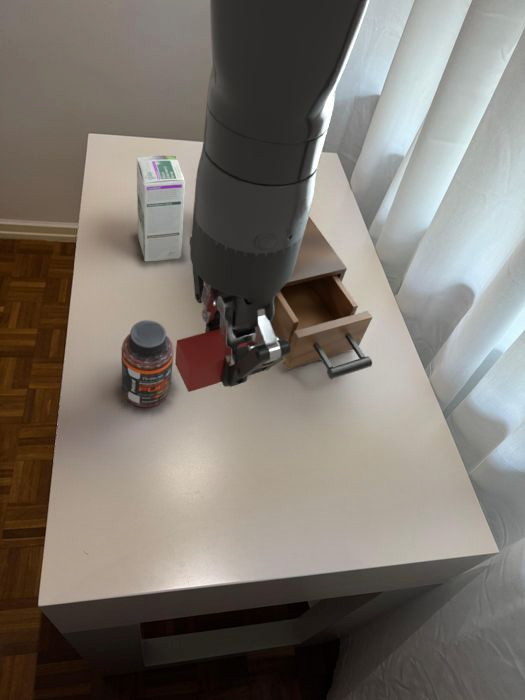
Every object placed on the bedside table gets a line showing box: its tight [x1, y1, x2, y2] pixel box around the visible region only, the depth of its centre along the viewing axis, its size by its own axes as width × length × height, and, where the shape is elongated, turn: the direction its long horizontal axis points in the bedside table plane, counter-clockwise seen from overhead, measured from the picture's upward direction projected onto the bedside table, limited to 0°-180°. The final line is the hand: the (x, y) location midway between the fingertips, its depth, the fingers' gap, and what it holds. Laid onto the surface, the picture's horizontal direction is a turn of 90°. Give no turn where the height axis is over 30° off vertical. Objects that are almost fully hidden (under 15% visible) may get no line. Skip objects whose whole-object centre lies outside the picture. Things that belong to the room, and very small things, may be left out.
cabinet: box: [283, 216, 348, 287], centre depth 84 cm, size 15×13×9 cm
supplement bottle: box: [120, 319, 174, 408], centre depth 68 cm, size 6×6×11 cm
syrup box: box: [136, 155, 186, 262], centre depth 83 cm, size 6×6×14 cm
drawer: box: [270, 275, 373, 380], centre depth 78 cm, size 19×11×7 cm, turn 25°
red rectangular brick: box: [174, 329, 247, 393], centre depth 50 cm, size 8×3×3 cm, turn 116°
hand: (224, 363), depth 51 cm, fingers closed on red rectangular brick, 3 cm apart
